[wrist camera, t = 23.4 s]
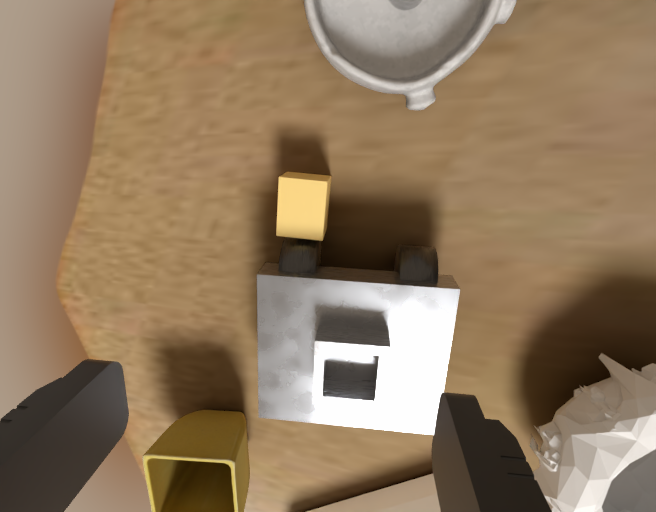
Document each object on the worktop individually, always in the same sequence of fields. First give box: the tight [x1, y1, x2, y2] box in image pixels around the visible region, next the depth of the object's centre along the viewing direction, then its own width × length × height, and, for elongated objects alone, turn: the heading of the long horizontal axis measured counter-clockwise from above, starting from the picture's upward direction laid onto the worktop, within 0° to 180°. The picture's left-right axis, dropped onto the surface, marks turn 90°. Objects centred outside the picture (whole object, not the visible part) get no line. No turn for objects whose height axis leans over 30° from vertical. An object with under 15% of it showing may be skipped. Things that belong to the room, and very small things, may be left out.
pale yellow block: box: [276, 172, 331, 241], centre depth 35 cm, size 4×5×4 cm
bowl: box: [530, 353, 656, 512], centre depth 36 cm, size 21×20×10 cm
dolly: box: [257, 237, 460, 435], centre depth 36 cm, size 16×18×10 cm
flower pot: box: [143, 410, 250, 512], centre depth 42 cm, size 9×9×9 cm
